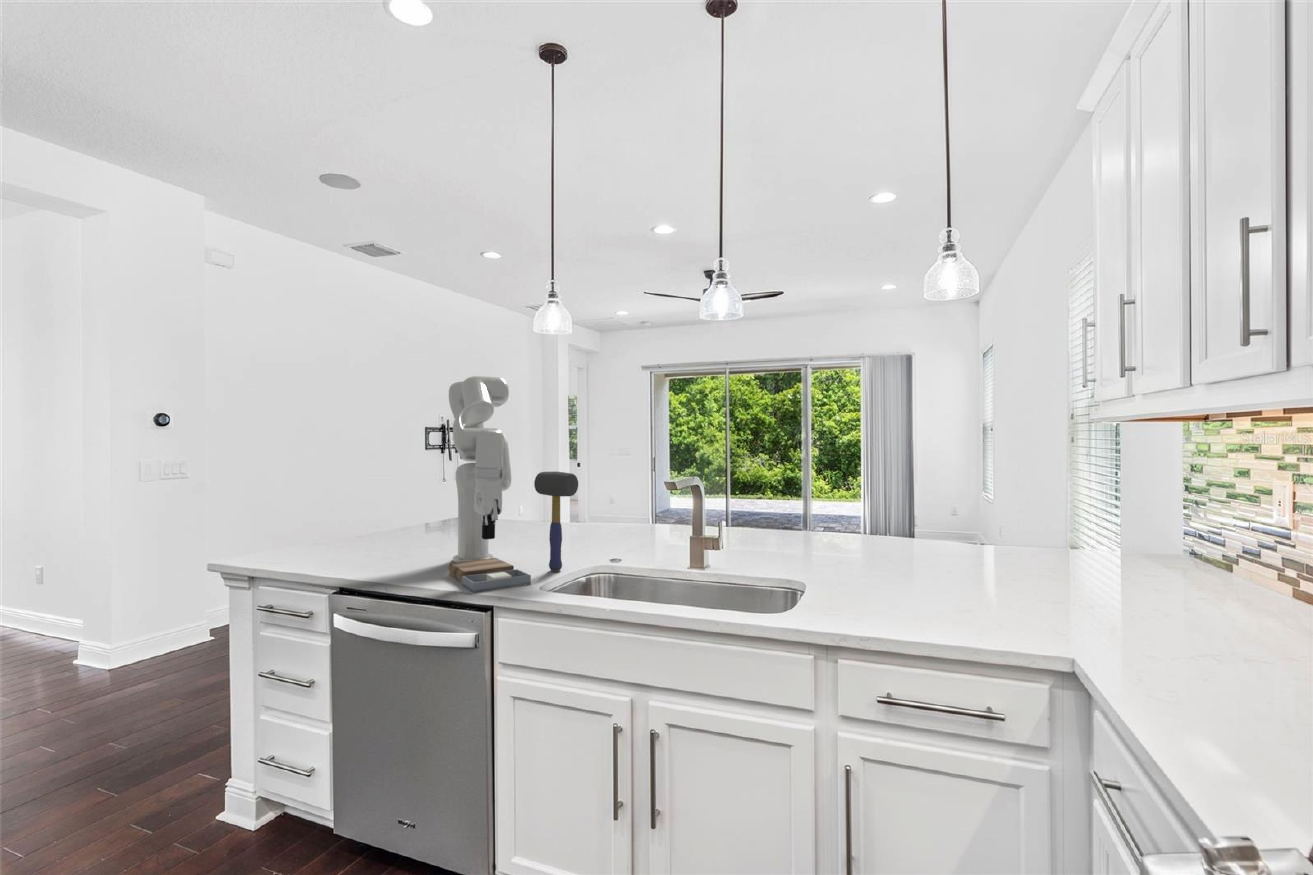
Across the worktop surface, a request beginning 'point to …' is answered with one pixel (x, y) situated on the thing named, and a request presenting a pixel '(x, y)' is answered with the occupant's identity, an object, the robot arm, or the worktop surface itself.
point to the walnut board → (477, 567)
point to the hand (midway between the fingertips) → (488, 538)
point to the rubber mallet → (556, 507)
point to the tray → (495, 581)
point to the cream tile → (497, 576)
